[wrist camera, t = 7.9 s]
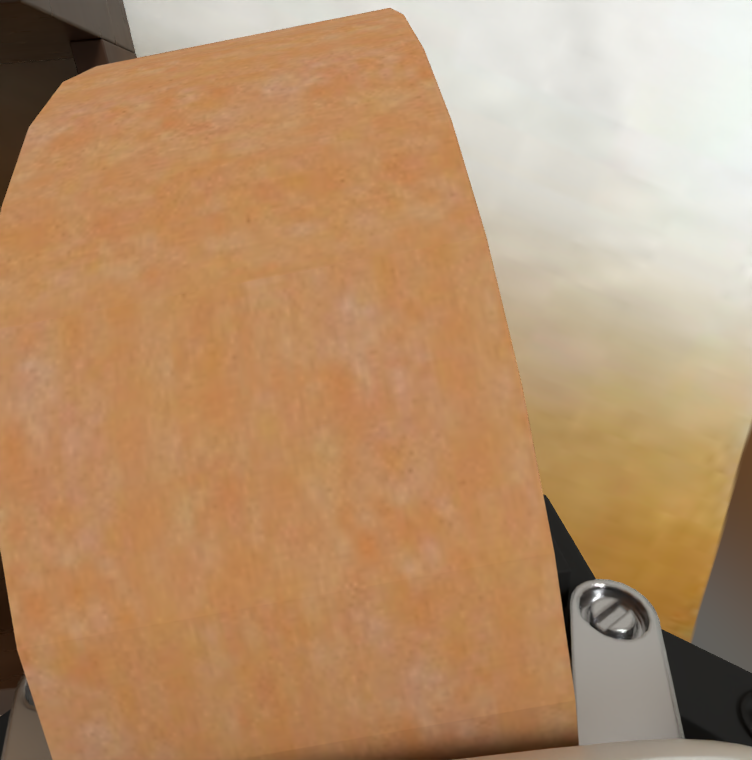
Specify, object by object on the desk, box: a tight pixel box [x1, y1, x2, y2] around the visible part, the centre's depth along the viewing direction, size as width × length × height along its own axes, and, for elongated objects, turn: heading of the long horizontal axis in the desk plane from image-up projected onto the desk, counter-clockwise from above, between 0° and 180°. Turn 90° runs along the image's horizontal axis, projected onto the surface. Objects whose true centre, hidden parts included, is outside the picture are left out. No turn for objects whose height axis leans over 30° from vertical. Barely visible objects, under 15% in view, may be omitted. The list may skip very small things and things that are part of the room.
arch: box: [0, 8, 579, 760], centre depth 11 cm, size 6×20×10 cm, turn 9°
